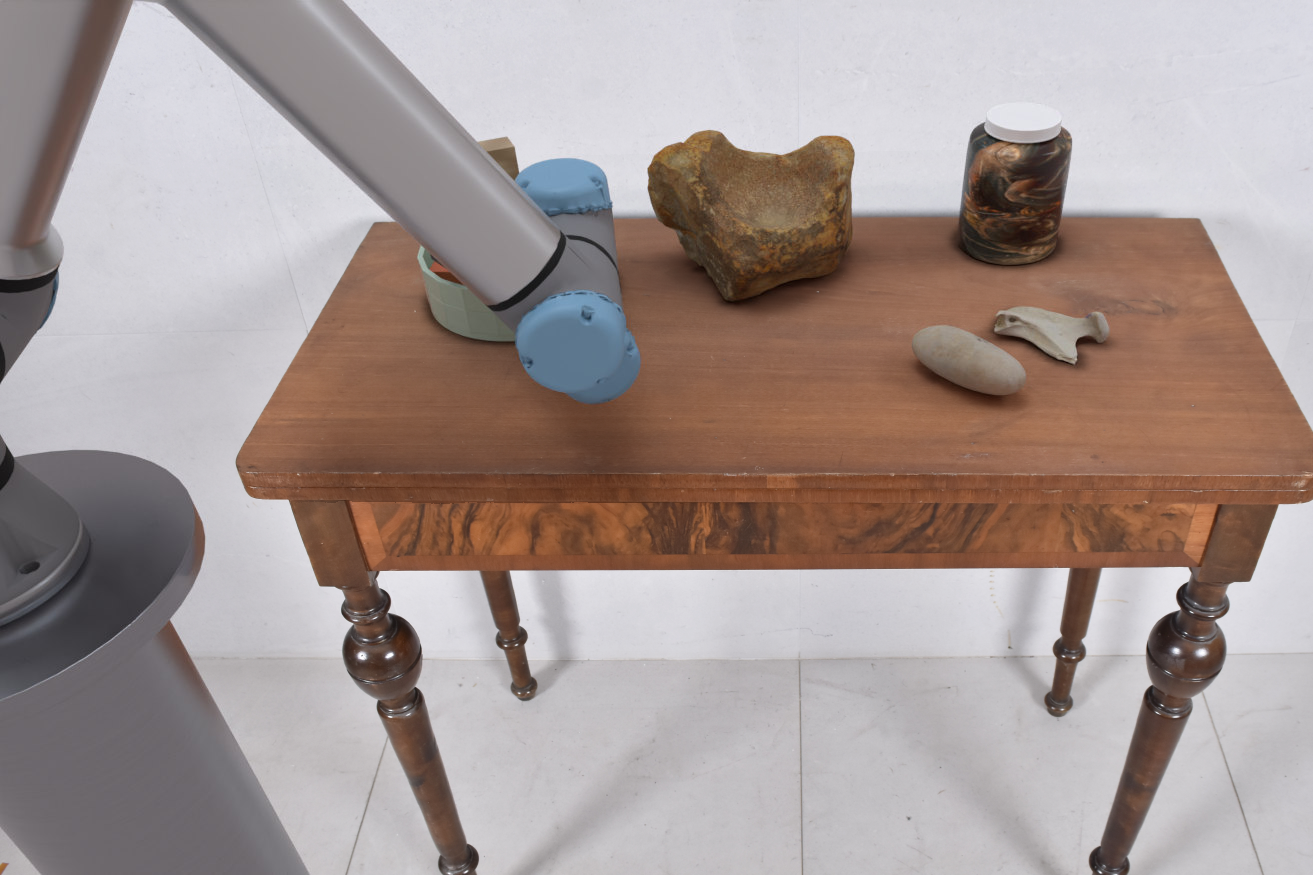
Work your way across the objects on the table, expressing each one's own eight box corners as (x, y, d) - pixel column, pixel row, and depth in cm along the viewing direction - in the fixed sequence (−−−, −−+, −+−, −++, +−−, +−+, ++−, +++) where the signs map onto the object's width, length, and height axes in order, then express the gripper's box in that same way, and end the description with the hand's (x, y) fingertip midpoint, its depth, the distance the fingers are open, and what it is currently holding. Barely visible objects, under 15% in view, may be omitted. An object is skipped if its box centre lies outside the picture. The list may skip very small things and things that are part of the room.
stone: (928, 321, 108) (1040, 325, 101) (928, 384, 110) (1038, 391, 103) (898, 328, 104) (1013, 332, 97) (899, 392, 106) (1011, 401, 98)
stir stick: (511, 296, 117) (483, 152, 107) (504, 284, 120) (476, 141, 110) (540, 289, 118) (514, 146, 108) (532, 277, 121) (507, 136, 111)
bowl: (450, 359, 110) (438, 307, 106) (415, 272, 124) (403, 224, 120) (638, 315, 116) (632, 265, 112) (584, 237, 130) (577, 190, 126)
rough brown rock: (653, 326, 115) (646, 200, 105) (650, 242, 127) (644, 121, 116) (867, 319, 117) (881, 195, 106) (845, 237, 129) (856, 118, 118)
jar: (947, 221, 131) (960, 98, 121) (1042, 217, 131) (1062, 94, 122) (967, 268, 122) (982, 139, 112) (1068, 263, 122) (1092, 134, 113)
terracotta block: (435, 304, 116) (427, 271, 114) (446, 286, 119) (438, 253, 117) (471, 305, 116) (464, 272, 114) (481, 287, 119) (474, 254, 117)
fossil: (1086, 369, 106) (1093, 339, 104) (986, 338, 111) (990, 308, 108) (1111, 338, 110) (1118, 309, 108) (1013, 309, 115) (1018, 280, 113)
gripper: (438, 354, 100) (398, 253, 115) (673, 299, 107) (606, 211, 122) (420, 282, 95) (381, 187, 110) (667, 230, 102) (599, 147, 117)
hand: (499, 200), depth 116 cm, fingers open, 11 cm apart
